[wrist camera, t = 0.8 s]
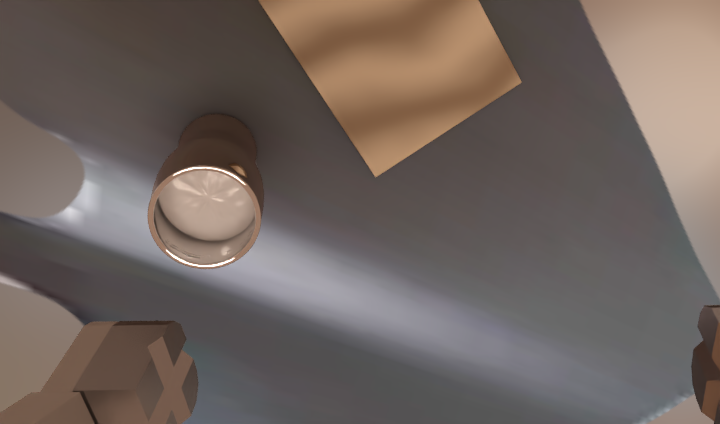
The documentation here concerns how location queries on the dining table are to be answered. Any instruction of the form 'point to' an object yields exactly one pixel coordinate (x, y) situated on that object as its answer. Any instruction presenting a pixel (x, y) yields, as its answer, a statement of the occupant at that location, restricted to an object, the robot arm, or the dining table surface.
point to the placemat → (396, 67)
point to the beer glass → (208, 195)
